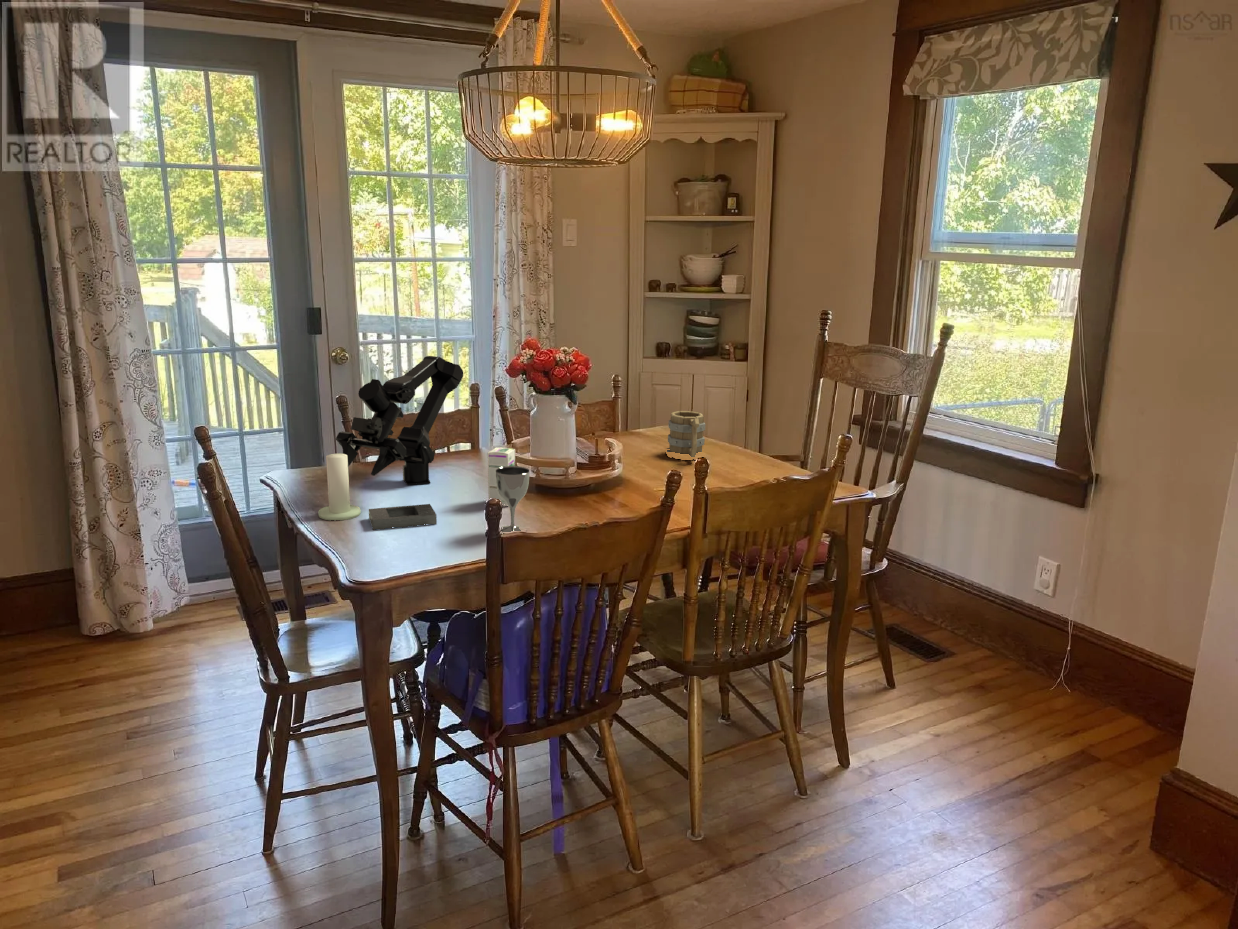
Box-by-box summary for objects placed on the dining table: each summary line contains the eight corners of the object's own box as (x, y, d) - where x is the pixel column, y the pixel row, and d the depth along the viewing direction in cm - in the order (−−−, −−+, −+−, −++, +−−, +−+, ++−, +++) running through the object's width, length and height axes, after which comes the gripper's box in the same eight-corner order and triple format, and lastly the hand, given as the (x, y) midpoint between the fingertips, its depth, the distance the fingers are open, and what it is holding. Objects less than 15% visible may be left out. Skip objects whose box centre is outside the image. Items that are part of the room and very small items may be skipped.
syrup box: (509, 507, 231) (509, 453, 227) (487, 505, 232) (487, 451, 229) (515, 500, 237) (516, 448, 233) (494, 499, 238) (494, 446, 234)
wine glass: (496, 524, 217) (496, 465, 213) (529, 525, 218) (529, 466, 214) (495, 535, 209) (494, 474, 206) (528, 535, 210) (529, 474, 206)
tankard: (663, 451, 295) (665, 406, 291) (700, 451, 297) (702, 407, 293) (673, 466, 276) (675, 419, 272) (712, 466, 277) (715, 419, 274)
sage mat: (358, 506, 228) (358, 503, 227) (362, 518, 219) (362, 514, 218) (317, 510, 224) (317, 506, 224) (319, 522, 215) (319, 518, 215)
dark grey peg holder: (430, 513, 224) (429, 503, 224) (436, 524, 216) (436, 514, 216) (369, 518, 219) (368, 508, 218) (373, 530, 211) (372, 520, 210)
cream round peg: (353, 508, 223) (350, 454, 220) (345, 514, 218) (342, 459, 215) (334, 506, 224) (331, 453, 220) (325, 512, 219) (322, 457, 215)
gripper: (338, 401, 230) (311, 451, 223) (398, 408, 223) (372, 460, 216) (359, 424, 239) (334, 474, 232) (417, 432, 232) (393, 483, 225)
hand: (357, 472), depth 226 cm, fingers open, 9 cm apart
